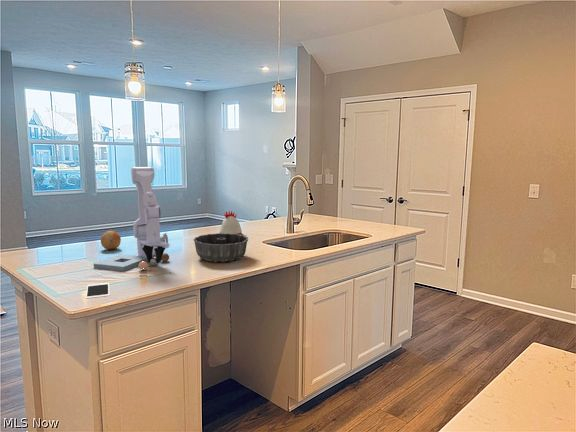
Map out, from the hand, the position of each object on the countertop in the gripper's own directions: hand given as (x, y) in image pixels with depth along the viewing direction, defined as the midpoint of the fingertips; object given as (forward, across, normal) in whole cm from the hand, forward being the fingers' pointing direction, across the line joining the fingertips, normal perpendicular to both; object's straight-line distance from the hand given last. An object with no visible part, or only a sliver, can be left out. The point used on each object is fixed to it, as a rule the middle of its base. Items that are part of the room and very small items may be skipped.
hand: (154, 262), depth 190 cm
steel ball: (0, 0, 0) cm, 0 cm away
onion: (+2, -41, +20) cm, 46 cm away
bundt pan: (+2, +22, +23) cm, 32 cm away
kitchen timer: (+2, 0, +79) cm, 79 cm away
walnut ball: (0, 0, +8) cm, 8 cm away
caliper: (+2, -24, +33) cm, 41 cm away
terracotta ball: (0, 0, -8) cm, 8 cm away
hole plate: (+2, -15, -3) cm, 15 cm away
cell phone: (+2, +1, -36) cm, 36 cm away
